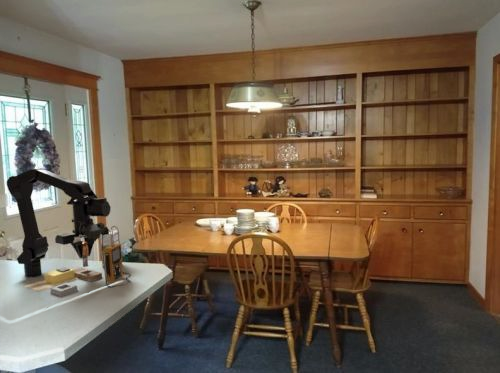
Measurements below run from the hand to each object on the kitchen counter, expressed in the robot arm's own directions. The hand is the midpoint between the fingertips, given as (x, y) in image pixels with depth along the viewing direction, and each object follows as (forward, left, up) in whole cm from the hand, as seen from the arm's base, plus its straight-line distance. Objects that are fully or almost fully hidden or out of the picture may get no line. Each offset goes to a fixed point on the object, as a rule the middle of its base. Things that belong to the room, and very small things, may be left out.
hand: (84, 257), depth 146 cm
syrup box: (-5, +15, -9) cm, 18 cm away
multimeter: (+14, +6, -9) cm, 18 cm away
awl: (0, 0, -4) cm, 4 cm away
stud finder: (-6, -7, -8) cm, 12 cm away
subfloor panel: (-6, -10, -8) cm, 14 cm away
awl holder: (+7, -13, -8) cm, 17 cm away
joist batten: (-1, 0, -8) cm, 9 cm away
